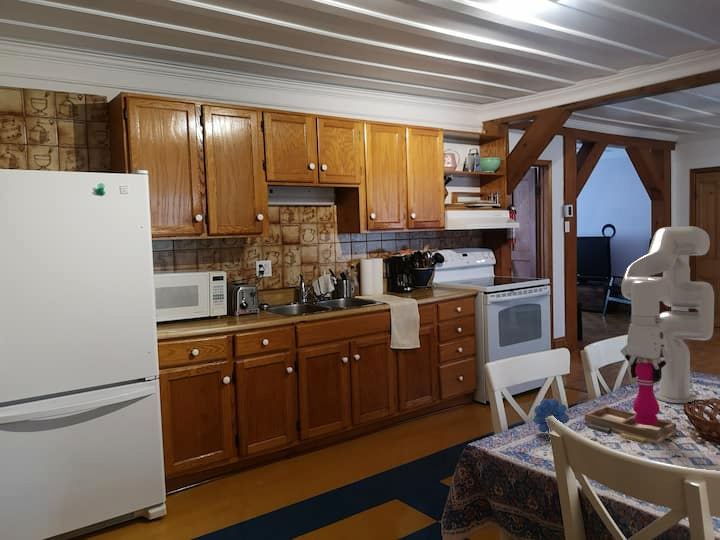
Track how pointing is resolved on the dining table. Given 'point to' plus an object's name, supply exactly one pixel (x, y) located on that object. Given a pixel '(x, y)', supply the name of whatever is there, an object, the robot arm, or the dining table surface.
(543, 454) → the dining table surface
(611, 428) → the board
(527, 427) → the dining table surface
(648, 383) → the pepper mill
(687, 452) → the dining table surface
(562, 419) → the grapes
